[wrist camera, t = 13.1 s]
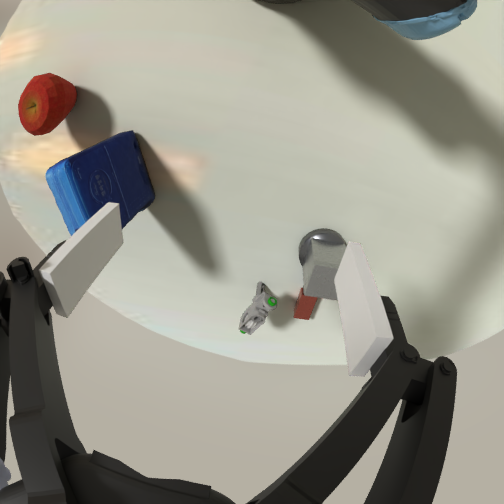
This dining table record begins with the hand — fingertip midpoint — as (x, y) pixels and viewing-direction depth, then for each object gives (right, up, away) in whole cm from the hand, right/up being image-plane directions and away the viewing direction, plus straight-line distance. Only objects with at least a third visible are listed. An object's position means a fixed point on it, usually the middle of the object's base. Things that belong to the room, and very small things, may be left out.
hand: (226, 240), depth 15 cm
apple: (-33, +29, +23) cm, 50 cm away
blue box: (-19, +15, +31) cm, 40 cm away
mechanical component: (+3, -7, +43) cm, 44 cm away
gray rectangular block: (+14, -1, +35) cm, 38 cm away
